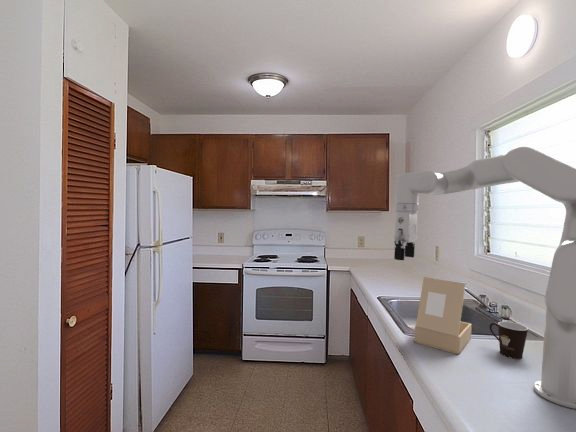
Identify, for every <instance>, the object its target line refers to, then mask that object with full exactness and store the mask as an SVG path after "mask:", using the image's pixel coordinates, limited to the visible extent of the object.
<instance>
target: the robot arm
mask: <svg viewBox="0 0 576 432" xmlns="http://www.w3.org/2000/svg"><path fill="white" fill-rule="evenodd" d="M518 182H520V183H523V184H524V185H526V186H528V187H530V188H531V189H533V190H535V191H537V192H540V193H541V194H543V195H545V196H547V197H549V198H550V199H552V200H554V201H556V202H558V203H562V204H563V205H564V207H565V218H564V223H563V229H562V232H561V238H560V242H559V245H558V246H557V248H556V249H555V252H554V254H553V258H552V263H551V266H550V267H551V268H550V271H549V277H548V281H547V286H546V291H545V295H544V304H545V320H544V334H543V345H542V346H543V349H542V360H541V361H542V363H541V379H540V380H536V381H535V382H534V383H533V390H534V391H535V392H536V393H537V394H538V396H540V397H541V398H543V399H545V400H547V401H550V403H551V402H552V403H554V404H556V405H560V406H561V407H566V408H571V409H574V410H576V168H575V167H572V166H571V165H569V164H566V163H564V162H562V161H560V160H558V159H555V158H553V157H551V156H550V155H546V154H545V153H543V152H541V151H539V150H537V149H535V148H532V147H530V146H517V147H515V148H513V149H511V150H509V151H508V152H507V153H504V154H500V155H494V156H490V157H485V158H480V159H477V160H473V161H471V162H470V163H469V164H468V165H466V166H464V167H462V168H458V169H455V170H450V171H444V172H437V171H433V170H424V171H419V172H400V173H399V174H397V176H396V186H395V187H396V188H395V207H394V208H395V211H394V213H395V214H396V217H395V226H394V235H393V236H394V237H393V238H394V242H393V243H394V245H393V246H394V247H393V248H394V256H393V257H394V258H393V259H394V260H397V261H405V258H414V257H415V245H416V242H417V241H418V239H419V235H418V229H419V227H418V214H419V205H420V204H419V202H420V201H419V200H420V194H424V195H432V196H442V195H447V194H455V193H459V192H465V191H470V190H478V189H481V188H487V187H494V186H498V185H499V186H500V185H506V184H511V183H512V184H513V183H518Z"/></svg>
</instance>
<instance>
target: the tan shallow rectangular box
mask: <svg viewBox="0 0 576 432" xmlns="http://www.w3.org/2000/svg"><path fill="white" fill-rule="evenodd" d="M413 340H414V343H416V344H419V345H423V346H425V347H431V348H433V349H437V350H442V351H444V352H448V353H452V354H456V355H460V354H461V353H462V351H464V349H465V348H466V346H467V345H468V344H469V342H470V341H471V340H472V323H470V322H466V321H460V328H459V336H454V335H450V334H446V333H442V332H438V331H434V330H430V329H426V328H422V327H418V326H416V325H415V326H414V339H413Z"/></svg>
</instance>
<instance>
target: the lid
mask: <svg viewBox="0 0 576 432" xmlns="http://www.w3.org/2000/svg"><path fill="white" fill-rule="evenodd" d="M422 279H423V280H422V286H421V293H420V299H419V302H418V303H419V305H418V311H417V317H416V324H415V326H418V327H422V328H426V329H430V330H434V331H438V332H442V333H446V334H450V335H454V336H459V328H460V321H461V318H462V312H463V305H464V297H465V291H466V290H465V289H466V283H462V282H457V281H451V280H450V281H449V280H444V279H439V278H433V277H423V278H422ZM461 322H462V321H461Z"/></svg>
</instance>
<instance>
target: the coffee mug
mask: <svg viewBox="0 0 576 432" xmlns="http://www.w3.org/2000/svg"><path fill="white" fill-rule="evenodd" d="M493 326H496V327H497V330H498V336H497V335H496V334H495V333H494V330H493V328H492V327H493ZM528 330H529V328H528V327H527V326H526V325H524V324H520V323H517V322H512V321H499V322H498V323H495V322H493V323H490V325H489V331H490V332H491V334H492V335H493V337H495V339H496V340H497V341H498V344H499V353H500V355H502V356H504V357H505V358H509V359H515V360H520V359H521V360H522V358H523V355H524V349H525V345H526V341H527V336H528V332H529V331H528Z"/></svg>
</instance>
